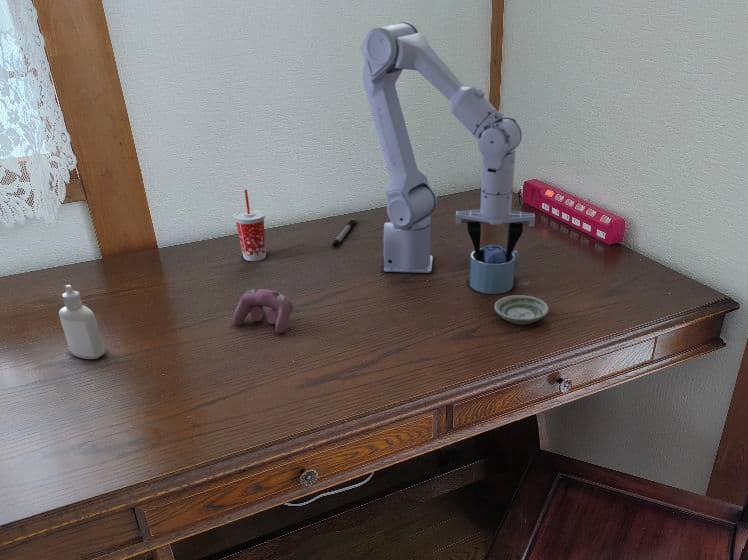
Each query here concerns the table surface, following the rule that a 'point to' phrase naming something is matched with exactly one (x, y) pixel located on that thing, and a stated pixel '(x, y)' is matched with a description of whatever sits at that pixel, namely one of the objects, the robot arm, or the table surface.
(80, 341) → the eye dropper bottle
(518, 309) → the saucer
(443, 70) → the robot arm
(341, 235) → the pen
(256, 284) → the table surface
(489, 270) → the mug
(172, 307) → the table surface
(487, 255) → the decorative dice
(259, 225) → the beverage cup
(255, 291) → the video game controller
